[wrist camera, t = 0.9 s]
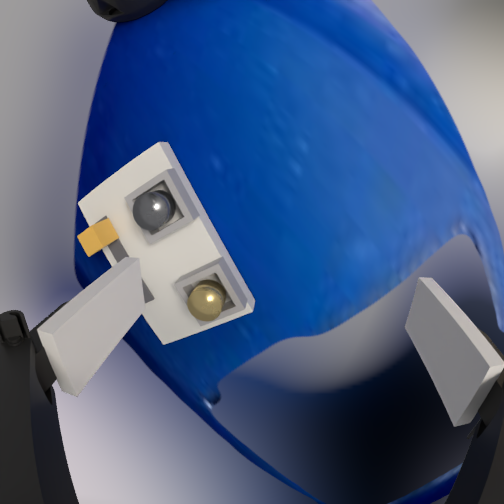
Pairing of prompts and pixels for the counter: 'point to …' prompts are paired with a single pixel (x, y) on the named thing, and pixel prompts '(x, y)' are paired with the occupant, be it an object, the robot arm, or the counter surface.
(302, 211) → the counter surface
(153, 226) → the grey button
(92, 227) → the slider knob
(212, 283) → the brass button
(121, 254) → the console
